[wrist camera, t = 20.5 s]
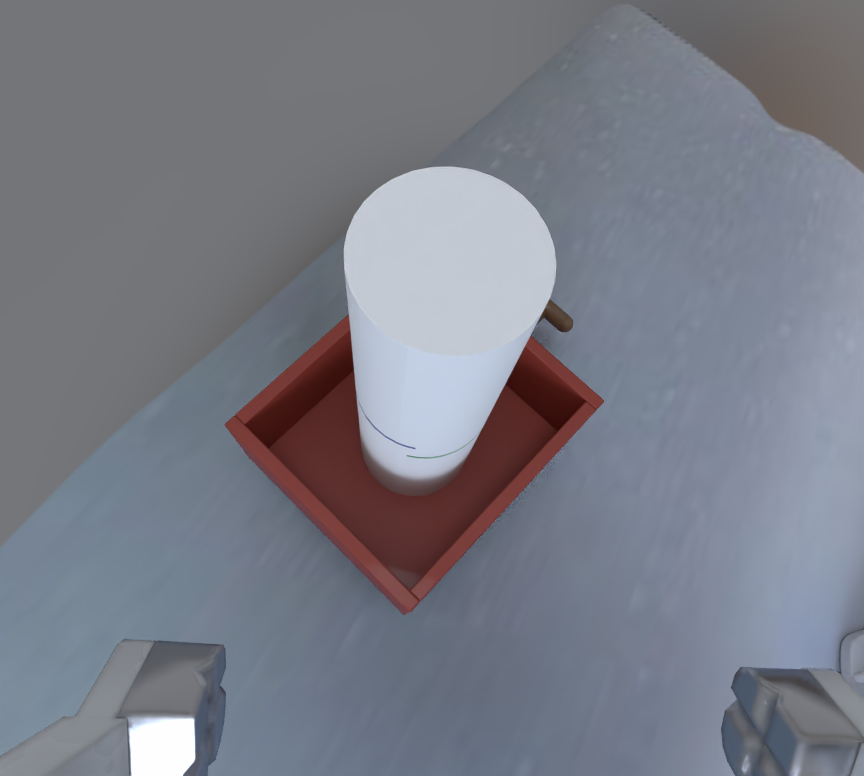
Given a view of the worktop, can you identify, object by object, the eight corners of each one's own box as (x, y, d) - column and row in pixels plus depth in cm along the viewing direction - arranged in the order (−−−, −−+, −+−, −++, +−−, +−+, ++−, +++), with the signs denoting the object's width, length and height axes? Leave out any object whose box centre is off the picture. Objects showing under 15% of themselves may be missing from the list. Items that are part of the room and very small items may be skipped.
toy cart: (464, 275, 56) (484, 194, 46) (603, 397, 53) (658, 342, 43) (255, 466, 50) (223, 424, 39) (402, 616, 47) (409, 612, 37)
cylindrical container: (388, 376, 48) (397, 137, 25) (483, 417, 48) (585, 213, 24) (343, 469, 46) (306, 302, 22) (442, 513, 46) (511, 390, 22)
